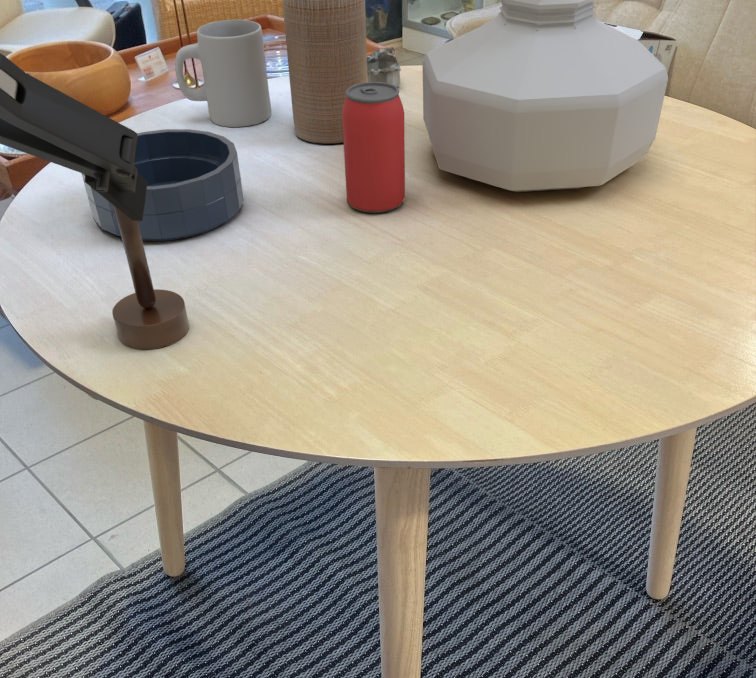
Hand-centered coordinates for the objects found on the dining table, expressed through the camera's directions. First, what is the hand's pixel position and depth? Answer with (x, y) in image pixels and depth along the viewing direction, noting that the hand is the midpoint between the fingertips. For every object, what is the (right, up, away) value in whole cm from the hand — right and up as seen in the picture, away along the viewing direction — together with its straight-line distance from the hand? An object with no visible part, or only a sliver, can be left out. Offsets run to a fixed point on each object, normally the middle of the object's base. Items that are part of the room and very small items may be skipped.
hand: (49, 195), depth 60 cm
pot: (+42, +20, +45) cm, 65 cm away
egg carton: (+21, +40, +66) cm, 80 cm away
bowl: (-1, +12, +37) cm, 39 cm away
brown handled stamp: (+2, -6, +19) cm, 20 cm away
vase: (+17, +28, +53) cm, 63 cm away
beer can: (+23, +12, +37) cm, 45 cm away
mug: (+2, +32, +58) cm, 66 cm away
